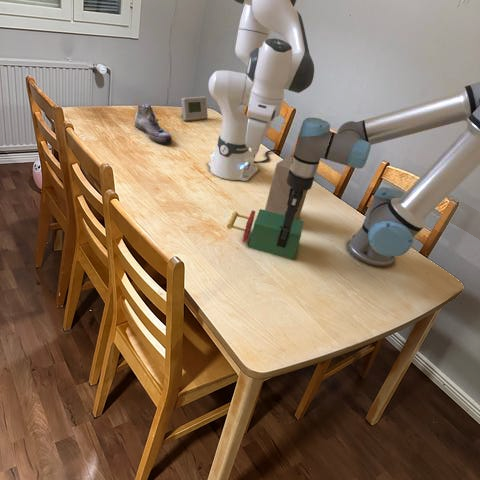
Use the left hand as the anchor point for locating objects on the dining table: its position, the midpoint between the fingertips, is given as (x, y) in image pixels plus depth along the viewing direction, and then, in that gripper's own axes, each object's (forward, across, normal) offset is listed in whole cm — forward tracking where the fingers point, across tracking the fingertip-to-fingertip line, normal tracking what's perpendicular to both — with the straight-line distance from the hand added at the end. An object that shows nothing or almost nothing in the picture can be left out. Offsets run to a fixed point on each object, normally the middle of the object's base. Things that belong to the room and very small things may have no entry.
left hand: (254, 153), depth 126 cm
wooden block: (+28, -20, +12) cm, 37 cm away
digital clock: (+28, -98, -45) cm, 112 cm away
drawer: (+27, 0, +7) cm, 28 cm away
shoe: (+28, -63, -53) cm, 87 cm away
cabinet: (+28, 0, +12) cm, 30 cm away
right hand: (+24, 0, +15) cm, 28 cm away
